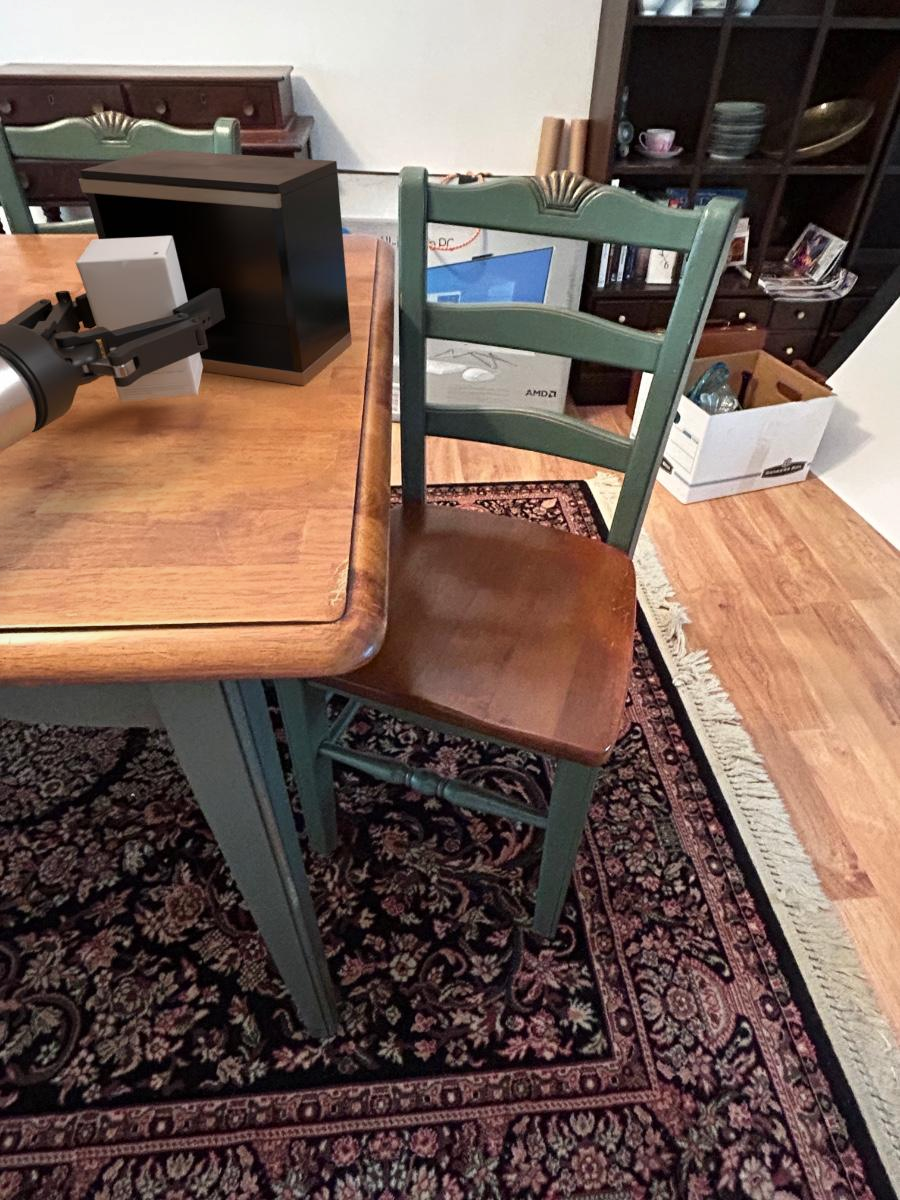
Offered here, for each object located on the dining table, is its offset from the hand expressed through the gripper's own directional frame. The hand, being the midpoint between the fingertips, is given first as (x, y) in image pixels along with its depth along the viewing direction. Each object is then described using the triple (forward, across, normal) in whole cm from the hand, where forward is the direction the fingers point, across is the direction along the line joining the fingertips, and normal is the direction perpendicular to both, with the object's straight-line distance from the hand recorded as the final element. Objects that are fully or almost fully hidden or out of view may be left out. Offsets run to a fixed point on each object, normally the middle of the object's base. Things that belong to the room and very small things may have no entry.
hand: (172, 297), depth 71 cm
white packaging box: (-4, 0, -7) cm, 8 cm away
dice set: (+8, -19, -11) cm, 23 cm away
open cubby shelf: (+13, -2, -10) cm, 17 cm away
